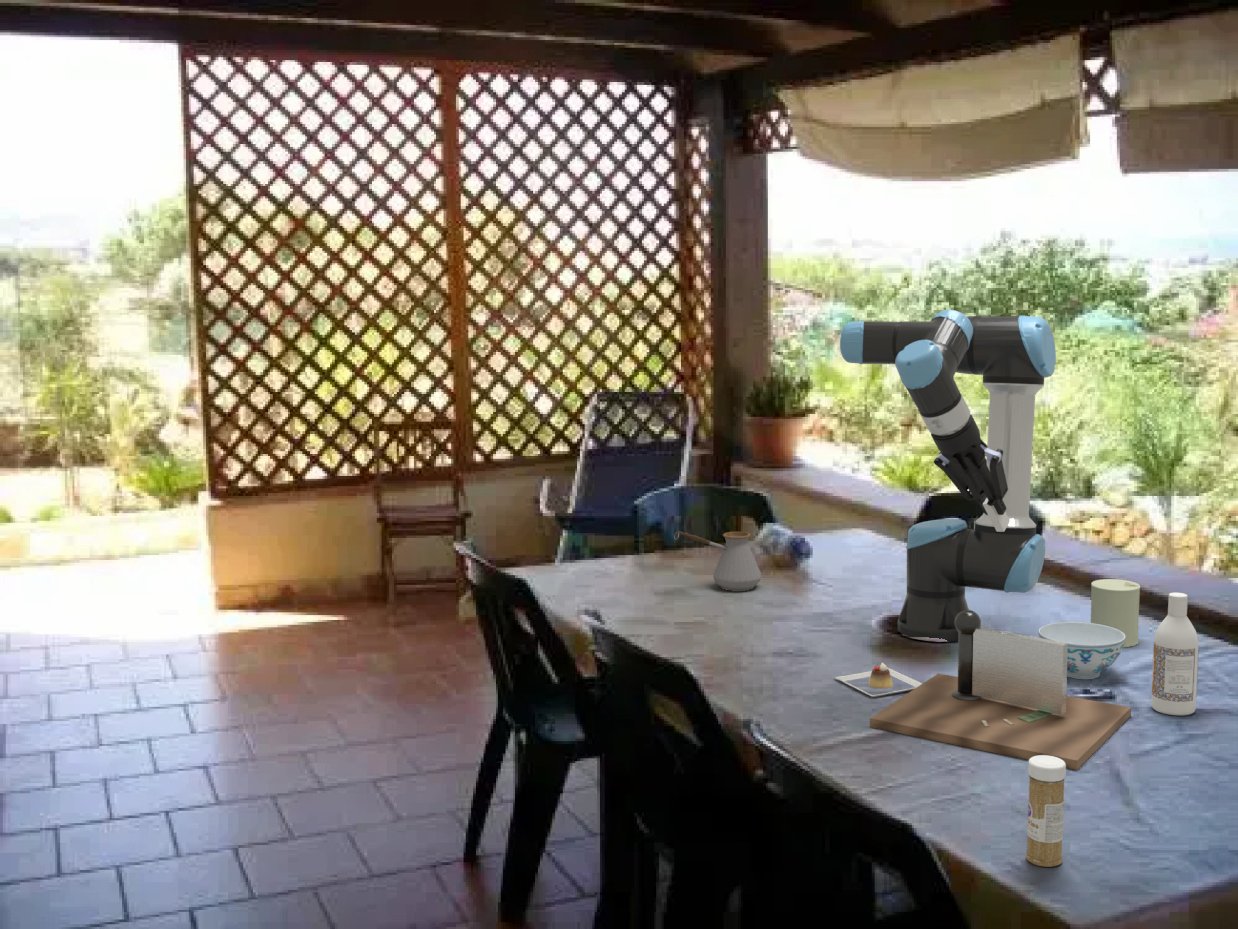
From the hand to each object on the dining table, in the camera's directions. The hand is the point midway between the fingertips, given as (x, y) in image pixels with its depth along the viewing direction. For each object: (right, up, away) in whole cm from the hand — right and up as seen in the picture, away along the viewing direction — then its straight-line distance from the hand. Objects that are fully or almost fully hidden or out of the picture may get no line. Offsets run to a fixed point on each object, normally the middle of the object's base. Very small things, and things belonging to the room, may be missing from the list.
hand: (1003, 526), depth 233 cm
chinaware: (+17, -28, +10) cm, 34 cm away
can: (+30, -24, +29) cm, 49 cm away
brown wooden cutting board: (-5, -32, -14) cm, 35 cm away
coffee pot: (-45, -19, +77) cm, 91 cm away
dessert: (-20, -30, +6) cm, 37 cm away
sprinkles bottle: (-13, -40, -64) cm, 77 cm away
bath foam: (+26, -31, -10) cm, 41 cm away
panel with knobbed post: (-3, -29, -11) cm, 31 cm away
